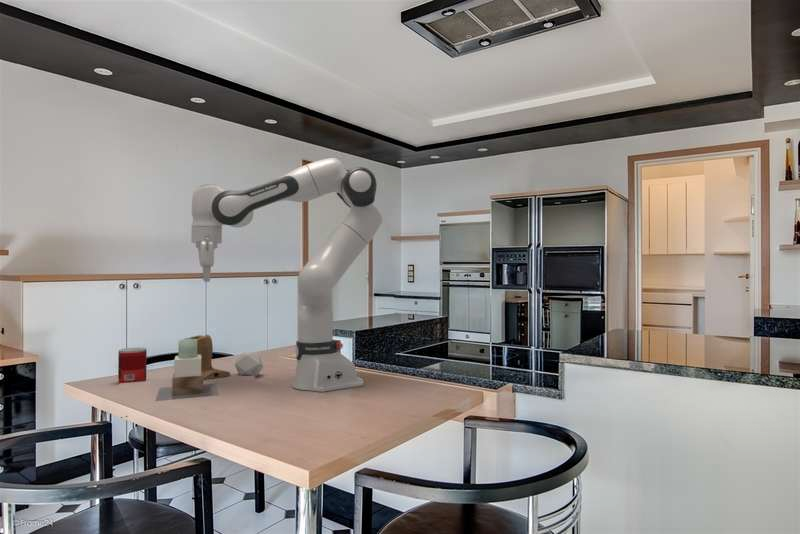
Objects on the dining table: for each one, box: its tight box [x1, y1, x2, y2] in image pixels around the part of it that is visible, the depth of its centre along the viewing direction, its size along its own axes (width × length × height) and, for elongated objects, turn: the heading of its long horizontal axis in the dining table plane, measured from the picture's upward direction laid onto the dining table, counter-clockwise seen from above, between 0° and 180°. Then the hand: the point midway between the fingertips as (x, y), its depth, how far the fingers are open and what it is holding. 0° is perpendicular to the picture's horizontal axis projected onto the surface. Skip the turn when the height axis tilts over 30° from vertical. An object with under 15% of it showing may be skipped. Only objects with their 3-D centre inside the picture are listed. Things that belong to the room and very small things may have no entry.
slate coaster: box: [154, 382, 219, 402], centre depth 140 cm, size 16×16×1 cm
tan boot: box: [184, 334, 231, 381], centre depth 161 cm, size 15×12×15 cm
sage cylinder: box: [178, 338, 197, 359], centre depth 140 cm, size 5×5×5 cm
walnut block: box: [171, 371, 204, 396], centre depth 140 cm, size 8×8×5 cm
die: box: [234, 352, 264, 378], centre depth 166 cm, size 8×9×10 cm
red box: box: [117, 346, 148, 385], centre depth 157 cm, size 8×8×11 cm
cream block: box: [173, 355, 201, 378], centre depth 140 cm, size 7×7×5 cm
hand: (206, 281), depth 150 cm, fingers open, 8 cm apart
